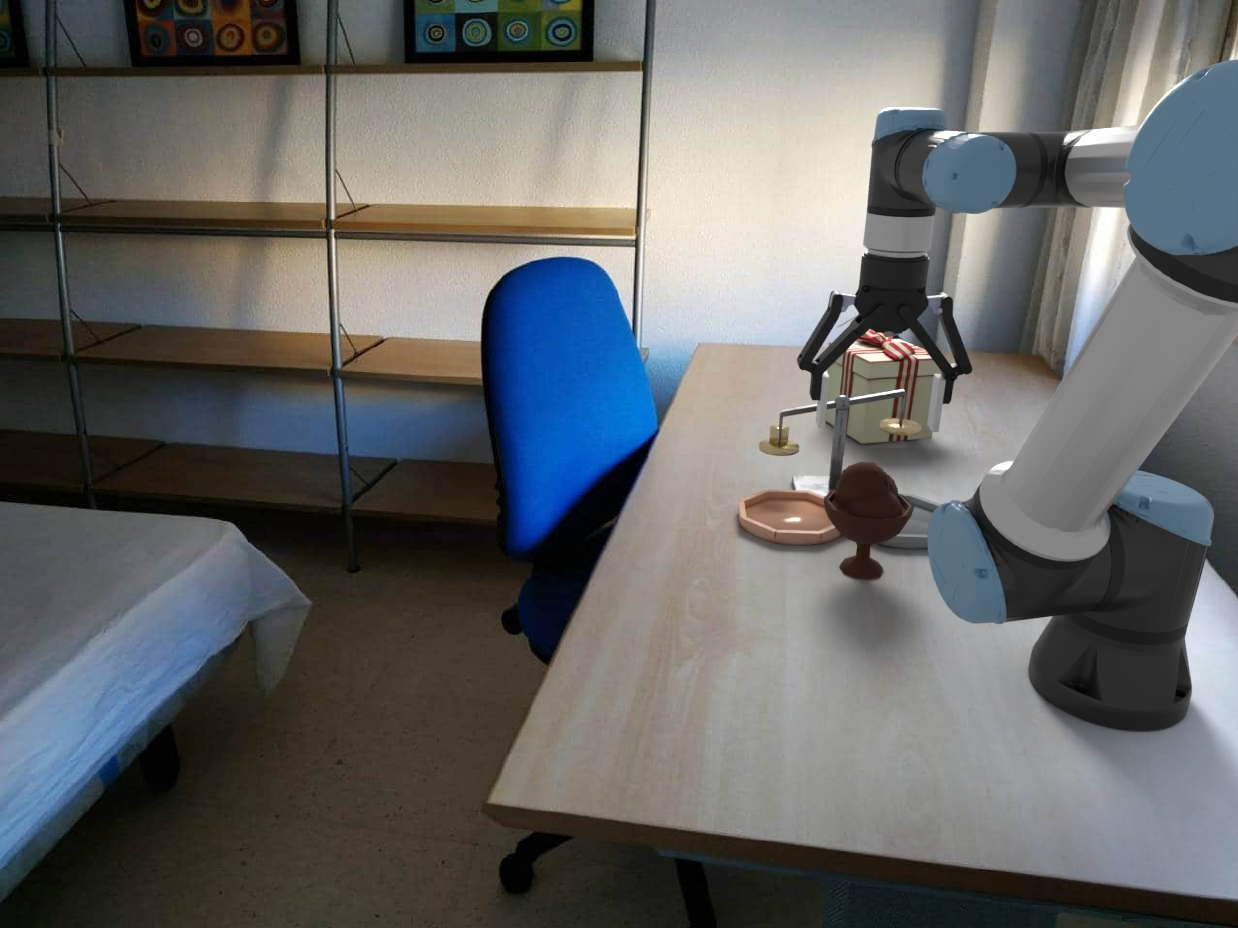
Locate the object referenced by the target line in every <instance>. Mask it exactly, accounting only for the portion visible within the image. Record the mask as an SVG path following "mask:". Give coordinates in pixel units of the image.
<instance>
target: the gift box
mask: <svg viewBox="0 0 1238 928" xmlns="http://www.w3.org/2000/svg"><path fill="white" fill-rule="evenodd" d="M892 338H893V337H885V334H884V333H875V332H874V331H872V330H870V329H869V330H868V331H867V332H866V333H865V334H864V335H863V336H861V337H859V338H858V339H860V340H859V341H855V342H854V343H853V344H852V345H851V346H850V347H849V348H848V349H847V350H846V351H845V352H844V353H843V354H842V355H841V356H840V357H839V358H838V359H837V360H836V361H835V362H834V363H833V364H832V365H831V366H830V367H829V368H828V369H827V373H828V375H829V388H828V399H827V402H830V401H835V399H836V397H838V396H840V395H846V396H847V397H849V398H853V397H859V396H865V395H871V394H877V393H883V392H888V391H894V390H900V389H904V391H905V392H906V397H905V406H904V414H903V419H906V420H911V421H914V422H917V423H919V424H920V425H921V432H920V433H919V434H916V435H908V436H903V435H894V434H890V433H886V432H884V431H882V430H881V429H880V428H879V424H880V421H882V420H885V419H892V418H897V419H899V418H900V409H901V401H902V397H897V398H891V399H885V400H879V401H874V402H868V403H862V404H856V405H850V407H849V409H848V415H847V425H846V436H848V437H850V438H851V439H853V440H854V441H856V442H858V443H859V444H865V445H866V444H876V443H877V444H878V443H889V442H903V441H912V440H913V441H914V440H915V441H916V440H922V439H925V440H926V439H932V438H933V433H934V432H932V431H931V429H930V428H929V426H928V425H927V422H928V415H929V407H930V400H931V392H932V385H933V377H934V374H941V373H942V372H941V370H940V369H939V368H938V366H937V365H936V364H935V362H934V361H933V360H932V358H931V357H930V355H929V354H928V353H927V351H926V350H925V349H924V347H920V346H918V345H914V344H913V343H910V342H908V341H906V340H905V341H906V342H905V341H903V340H904V339H903V340H901V339H892ZM832 342H833V341H830V342H828V344H827V345H828V346H829V345H830V344H831V343H832ZM828 346H827V347H828ZM835 410H836V408H833V409H827V410H826V420H825V423H828V424H830V425H831V426H832V427H834V421H835Z"/></svg>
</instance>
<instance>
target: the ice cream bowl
mask: <svg viewBox="0 0 1238 928" xmlns="http://www.w3.org/2000/svg"><path fill="white" fill-rule="evenodd" d="M898 493H899V489H898V487H897V484H896V482H895V479H893V477H892V476H891V475H889V474H888V472H886V471H885V470H884V469H883V467H881V466H879V465H877V463H875V462H873V461H858V462H856V463H854V464H850V465H848V466H847V467H846V468H844V469H842V475H841V476H840V478H839V480H838V482H837V484H836V489H832V490H831V491H830V492H829V493H828V494H827V495H826V496H825V497H824V507H825V511H826V513H827V516H828V518H829V520H830V521H831V522H832V524H833V525H834V526H835V528H836V529H837V530H838V531H839V532H840V533H841V534H842V535H841V536H842V537H845V538H846V539H848V540H849V541H853V542H854V543H856V551H855V555H851V556H849V557H848V556H847V557H845V558H844V559H843V560H842V561H841V563H840V565H839V569H840V570H841V571H842V573H843V574H845V575H847V576H849V577H852V578H854V579H859V580H860V579H862V580H871V579H872V580H873V579H877V578H880V577H881V576H882V574H883V573H884V568H883V566H882V565H881V563H880V562H879V561H877V560H876V559H875V558H873V557H871V547H872V546H873V545H878V544H877V543H882V542H885V541H888V540H890V539H892V538H893V537H895V536H896V535H898V534H899V533H900V532H901V530H902V529H903V528H904V526H905V525H906V523H907V522H908V520H909V519H910V517H911V515H912V512H913V509H914V507H915V506H914V505H913V504H912V503H911V502H910V501H909V500H908V499H907V498H906V497H905V496H904V495H901V494H902V493H901V494H898Z"/></svg>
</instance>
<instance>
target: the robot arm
mask: <svg viewBox="0 0 1238 928" xmlns="http://www.w3.org/2000/svg"><path fill="white" fill-rule="evenodd" d="M947 118H948V117H947V114H946V112H945V111H944V110H943V109H941V108H935V107H886V108H884V109H882V110H881V111H880V112H879V113H878V114H877V117H876V120H875V121H876V122H875V129H874V135H873V139H872V141H871V145H870V146H871V158H870V167H869V168H870V170H869V180H868V181H869V182H868V193H867V207H866V215H865V224H864V232H863V243H862V245H863V246H864V248H866V249H867V250H865V251H864V252H863V253H862V254H861V262H860V270H859V271H860V272H859V279H858V289H857V290H856V292H855V294H850V293H843V292H841V291H839V290H838V289H834V290H832V291H831V292H830V294H829V299H828V304H827V308H826V310H825V312H824V314H823V315H822V317H820V320H819V321H818V323H817V324H816V327H815V328H814V330H813V331H812V332H811V334H810V336H809V338H808V339H807V341H806V343H805V345H804V346H803V347H802V349H801V351H800V353H799V354H798V356H797V358H796V363H797V366H798V368H799V370H801V371H806V372H809V373H810V381H809V382H810V383H809V384H810V385H809V395H810V398H811V401H817V403H816V404H817V411H815V412H816V415H815V416H816V417H815V424H816V426H817V428H818V429H819V430H825V429H826V421H825V420H826V410H827V399H828V388H829V375H828V368H829V367H830V366H831V365H832V364H833V363H834V362H835V361H836V360H837V359H838V358H839V357H840V356H841V355H842V354H843V353H844V352H845V351H846V350H847V349H848V348H849V347H850V346H851V345H852V344H853V343H854V342H855V341H856V340H857V339H858V338H859V337H861V336H863V335H864V334H865V333H866V332H867V331H868V330H872V331H874V332H875V333H884V332H888V331H890V332H893V333H902V332H903V333H904V332H906V331H908V330H910V331H911V332H912V334H913V335H914V337H915V338H916V339H917V341H918V342H919V344H920V345H921V346H922V348H923V349H925V350H926V351H927V353H928V354H929V355H930V357H931V358H932V360H933V361H934V362H935V364H936V365H937V366H938V368H939V369H940V370H941V372H942V373H941V374H934V377H933V385H932V392H931V400H930V407H929V415H928V422H927V425H928V426H929V428H930V429H931V431H932V432H933V433H939V432H940V426H941V425H940V424H941V418H942V411H943V405H950V403H951V401H952V399H953V392H954V383H955V381H957V380H958V377H960V376H962V375H969V374H971V373H972V372H973V366H972V364H971V360H970V358H969V355H968V353H967V350H966V347H965V345H964V341H963V339H962V336H961V334H960V331H959V328H958V326H957V323H956V320H955V318H954V299H953V298H952V297H951V295H949V294H948V293H946V292H945V291H942V292H940V293H938V295H927V290H926V289H927V282H928V275H929V267H930V261H931V260H930V259H931V258H930V257H929V254H928V253H926V252H928V251H929V250H931V249H932V244H933V243H932V241H933V233H934V226H935V225H934V224H935V216H936V212H937V211H936V210H937V208H939V209H941V210H944V211H945V210H946V211H947V212H949V213H952V214H956V215H957V214H968V215H969V214H970V215H979V214H980V215H981V214H984V213H987V212H988V211H990V210H993V209H1021V208H1022V209H1023V208H1074V209H1075V208H1076V209H1077V208H1082V209H1083V208H1084V209H1087V208H1089V209H1090V208H1109V209H1110V208H1114V209H1115V208H1117V209H1118V208H1120V209H1121V208H1122V209H1125V213H1126V217H1127V219H1128V221H1129V224H1128V226H1127V231H1126V234H1127V235H1126V236H1127V240H1128V244H1129V245H1130V247H1131V249H1132V251H1133V254H1134V256H1135V257H1134V259H1133V261H1132V262H1131V264H1130V266H1129V267H1128V269H1127V270H1126V271H1125V274H1124V276H1123V277H1122V279H1121V281H1120V283H1118V285H1117V287H1116V288H1115V291H1114V292H1113V293H1112V296H1110V297H1111V298H1110V299H1109V301H1108V302H1107V304H1106V306H1105V307H1104V309H1103V311H1102V312H1101V314H1100V316H1099V318H1098V319H1097V321H1096V323H1095V324H1094V326H1093V328H1092V329H1091V331H1090V333H1089V335H1088V336H1087V337H1086V340H1085V341H1084V342H1083V345H1082V346H1081V348H1080V349H1079V351H1078V353H1077V355H1076V356H1075V357H1074V360H1073V361H1072V363H1071V365H1070V367H1069V368H1068V370H1067V371H1066V373H1065V374H1064V376H1063V378H1062V380H1061V381H1060V383H1059V385H1058V386H1057V388H1056V389H1055V391H1054V393H1053V395H1052V396H1051V398H1050V400H1049V401H1048V403H1047V404H1046V406H1045V408H1044V410H1043V411H1042V413H1041V415H1040V417H1039V418H1038V419H1037V421H1036V423H1035V425H1034V427H1033V428H1032V430H1031V432H1030V434H1029V435H1028V437H1027V438H1026V440H1025V442H1024V444H1023V445H1022V446H1021V449H1020V450H1019V452H1018V454H1017V455H1016V456H1015V458H1014V459H1010V460H1006V461H1004V462H1001V463H998V464H996V465H995V466H993V467H992V468H991V469H990V470H988V471H987V473H986V474H985V475H984V477H983V479H982V480H981V482H980V484H979V485H978V487H977V488H976V490H975V492H974V493H973V495H972V497H971V498H969V499H968V500H967V499H966V500H963V501H960V500H959V499H956V500H955V499H952V500H951V501H949V502H946V503H945V502H944V503H941V505H940V506H939V507H937V508H936V509H935V511H934V512H933V514H932V516H931V519H930V522H929V527H928V536H927V544H928V548H927V553H928V560H929V565H930V569H931V573H932V577H933V581H934V583H935V586H936V588H937V590H938V593H939V594H940V596H941V598H942V600H943V602H944V603H945V604H946V606H947V607H948V608H949V610H950V611H951V613H953V614H954V615H955V616H957V618H959V619H961V620H963V621H965V622H967V623H970V624H991V623H992V624H995V625H1002V624H1005V623H1010V622H1016V621H1017V622H1018V621H1027V620H1033V619H1034V620H1035V619H1041V618H1049V617H1051V619H1050V620H1049V621H1048V623H1047V624H1046V626H1045V627H1044V629H1043V631H1042V632H1041V633H1040V636H1039V637H1038V639H1037V640H1036V642H1035V643H1034V644H1033V647H1032V650H1031V652H1030V657H1029V663H1028V667H1027V674H1028V677H1029V679H1030V682H1031V684H1032V685H1033V687H1034V688H1035V689H1036V691H1038V693H1040V695H1041V696H1042V697H1044V698H1045V699H1046V700H1047V701H1048V702H1050V703H1051V704H1053V705H1054V706H1056V707H1058V708H1059V709H1061V710H1063V711H1064V712H1067V713H1069V714H1070V715H1072V716H1076V717H1078V718H1080V719H1083V720H1085V721H1089V722H1090V723H1094V724H1097V725H1100V726H1101V725H1102V726H1105V727H1110V728H1115V729H1118V730H1119V729H1120V730H1129V731H1155V730H1162V729H1166V728H1170V727H1173V726H1175V725H1177V724H1179V723H1180V722H1181V721H1183V720H1184V719H1185V717H1186V716H1187V713H1188V710H1189V706H1190V703H1191V699H1192V695H1193V693H1192V692H1193V683H1192V678H1191V677H1192V676H1191V671H1190V666H1189V665H1190V664H1189V657H1188V651H1187V643H1186V635H1187V632H1188V626H1189V622H1190V619H1191V617H1192V616H1191V615H1192V611H1193V607H1194V604H1195V600H1196V596H1197V592H1198V589H1199V585H1200V581H1201V577H1202V574H1203V571H1204V570H1203V569H1204V566H1205V563H1206V560H1207V556H1208V551H1209V548H1210V547H1211V545H1212V539H1211V535H1212V529H1213V525H1214V518H1215V513H1214V508H1213V505H1212V504H1211V503H1210V501H1209V500H1208V499H1207V498H1206V497H1205V496H1204V495H1203V494H1201V493H1200V492H1198V491H1196V490H1195V489H1193V488H1192V487H1189V486H1187V485H1185V484H1183V483H1181V482H1178V481H1176V480H1174V479H1173V480H1172V479H1171V478H1168V477H1164V476H1161V475H1158V474H1154V473H1151V472H1147V471H1142V470H1139V469H1140V467H1141V466H1142V464H1143V463H1144V462H1145V461H1146V459H1147V458H1148V457H1149V456H1150V453H1152V451H1153V450H1154V448H1155V447H1156V445H1157V444H1158V443H1159V442H1160V440H1161V439H1162V438H1163V436H1164V435H1165V433H1166V432H1167V431H1168V429H1169V428H1170V427H1171V425H1172V424H1173V423H1174V422H1175V420H1176V419H1177V417H1178V416H1179V415H1180V413H1181V412H1182V411H1183V409H1184V408H1185V406H1186V405H1187V404H1188V403H1189V401H1190V400H1191V398H1192V397H1193V395H1195V393H1196V391H1198V389H1199V388H1200V387H1201V385H1202V383H1203V382H1204V381H1205V380H1206V378H1207V377H1208V375H1209V374H1210V373H1211V371H1212V370H1213V369H1214V367H1215V366H1216V365H1217V363H1218V362H1219V361H1220V359H1221V358H1222V356H1223V355H1224V354H1225V353H1226V351H1227V350H1228V349H1229V347H1230V346H1231V344H1232V343H1233V342H1234V341H1235V339H1236V338H1237V336H1238V58H1236V59H1230V60H1225V61H1220V62H1218V63H1214V64H1212V65H1210V66H1207V67H1204V68H1201V69H1199V70H1197V71H1195V72H1193V73H1192V74H1190V75H1188V76H1186V77H1185V78H1184V79H1182V80H1181V81H1180V82H1178V83H1177V84H1176V85H1174V86H1173V87H1172V88H1171V89H1170V90H1169V91H1167V92H1166V93H1165V95H1163V96H1162V97H1161V98H1160V100H1159V101H1158V102H1157V103H1156V104H1155V105H1154V106H1153V108H1152V109H1151V111H1150V112H1149V113H1148V114H1147V116H1146V117H1145V119H1144V120H1143V122H1142V124H1137V125H1125V126H1118V127H1108V128H1106V127H1105V128H1095V129H1093V128H1091V129H1083V130H1082V129H1080V130H1069V131H1040V132H1038V131H1037V132H1036V131H1035V132H1031V131H955V130H954V131H951V130H948V127H947V123H948V122H947V120H948V119H947ZM850 306H854V309H855V310H856V311H857V312H858V314H856V315H857V316H856V315H855V316H856V317H855V316H854V317H855V318H854V319H852V320H851V321H850V323H849V325H848V326H847V327H846V328H845V329H844V330H843V331H842V332H840V334H839V335H838V336H837V337H836V338H835V339H834V340H833V341H831V342H832V343H831V344H830V345H829V346H827V347H826V348H825V349H824V350H823V352H821V353H820V355H818V353H819V351H820V349H821V348H822V346H823V344H824V343H825V341H826V340H827V338H828V336H829V335H830V333H831V332H832V330H833V329H834V328H833V327H835V325H836V324H837V322H838V320H839V318H840V316H841V314H842V313H845V312H846V311H847V310H848V308H849V307H850ZM928 307H930V308H931V310H932V312H933V313H934V314H935V315H937V317H938V320H939V322H940V325H941V328H942V331H943V333H944V335H945V339H946V341H947V344H948V345H949V348H950V351H951V354H952V357H953V359H954V363H950V362H949V361H948V360H947V358H946V356H945V355H944V354H943V352H942V351H941V350H940V348H939V347H938V346H937V345H936V343H935V342H934V341H933V339H932V338H931V336H930V335H929V333H928V332H927V330H926V329H925V328H924V327H923V325H922V323H920V321H919V320H918V319H919V318H920V317H921V316H922V315H923V313H924V312H925V311H927V308H928ZM840 313H841V314H840ZM903 333H902V334H903ZM817 355H818V356H817ZM816 356H817V357H816ZM815 357H816V359H815Z"/></svg>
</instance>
